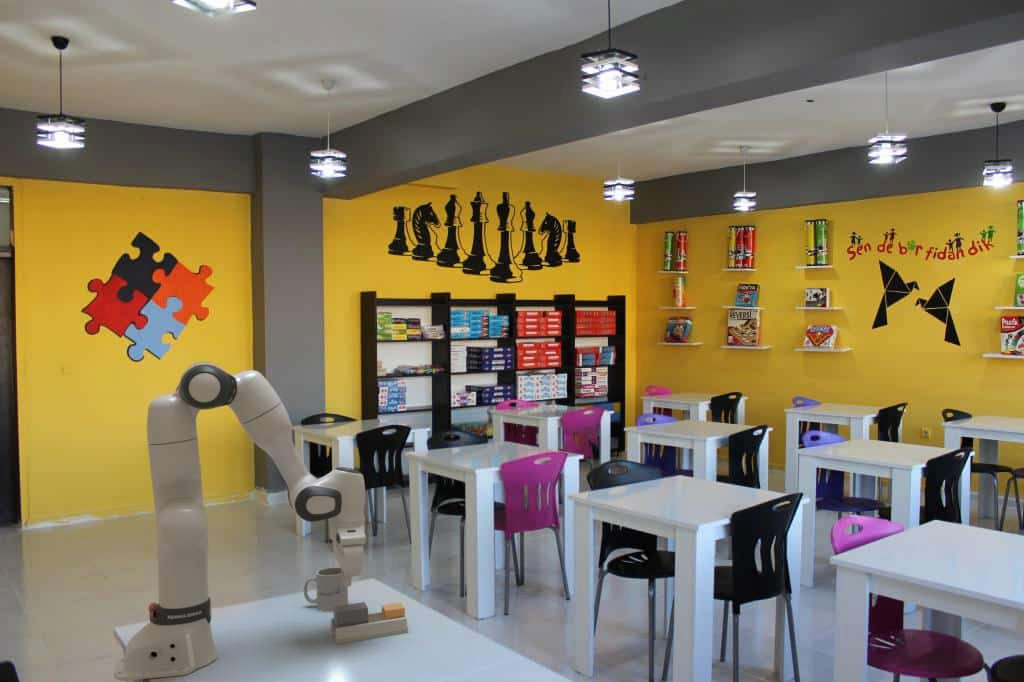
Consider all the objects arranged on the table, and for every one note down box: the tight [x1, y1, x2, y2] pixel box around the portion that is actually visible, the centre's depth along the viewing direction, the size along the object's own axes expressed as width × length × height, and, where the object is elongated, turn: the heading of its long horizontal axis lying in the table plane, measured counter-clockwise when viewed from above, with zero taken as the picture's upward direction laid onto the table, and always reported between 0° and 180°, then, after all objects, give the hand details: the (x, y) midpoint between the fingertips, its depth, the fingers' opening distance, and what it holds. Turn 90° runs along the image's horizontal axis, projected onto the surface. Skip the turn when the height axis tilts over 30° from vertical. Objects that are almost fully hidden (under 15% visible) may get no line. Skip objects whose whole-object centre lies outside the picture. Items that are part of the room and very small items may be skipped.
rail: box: [330, 602, 409, 645], centre depth 210 cm, size 18×10×6 cm, turn 111°
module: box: [332, 601, 369, 633], centre depth 208 cm, size 8×5×6 cm, turn 111°
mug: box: [303, 566, 349, 613], centre depth 232 cm, size 12×9×10 cm
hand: (346, 585), depth 208 cm, fingers closed
